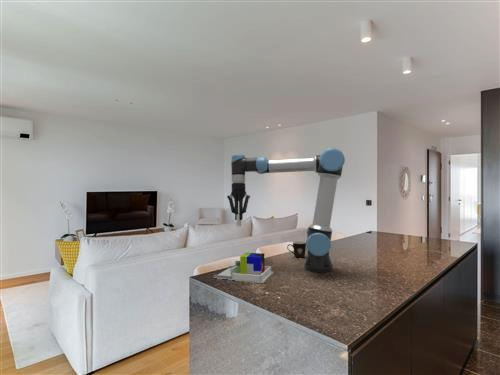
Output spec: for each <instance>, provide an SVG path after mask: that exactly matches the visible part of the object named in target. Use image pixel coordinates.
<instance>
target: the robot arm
mask: <svg viewBox="0 0 500 375" xmlns="http://www.w3.org/2000/svg"><path fill="white" fill-rule="evenodd" d="M345 161H346V159H345V155H344V153H343V152H342V151H341V150H340V149H338V148H336V147H330V148H327V149H325V150H323V151H322V152H321V154H318V155H314V156H313V157H297V158H284V159H283V158H282V159H267V158H266V157H261V156H259V157H246V155H245V154H242V153H240V154H239V153H236V154H232V155H231V163H230V164H231V167H230V168H231V192H230V194H229V195H227V196H226V197H227V199H228V201H229V206H230V211H231V213H232V214H234V220H235V221H236V227H241V226H242V220H243V215H244V214H245V213H247V209H248V204H249V200H250V198H251V195H249V194H247V191H246V173H248V172H249V173H252V172H254V173H257V174H259V175H263V174H272V173H273V174H274V173H296V172H298V173H300V172H315V173H316V174H317V175H318V176H319V182H318V188H317V193H316V200H315V205H314V206H315V207H314V211H313V218H312V223H311V224H310V225H309V226H308V227H307V229H306V236H307V237H306V240H305V242H306V249H307V255H306V257H305V261H304V270H306V271H309V272H314V273H315V272H316V273H327V272H331V271H333V269H334V268H333V263H332V259H331V258H330V250H331V247H332V244H331V243H332V242H331V241H332V236H333V229H332V228H331V227H330V226H331V221H332V214H333V208H334V203H335V197H336V196H335V195H336V190H337V184H338V180H339V179H340V178H341V177H342V172H343V169H344V168H343V167H344V164H345ZM233 199H234V200H233ZM243 201H244V202H243Z"/></svg>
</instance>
